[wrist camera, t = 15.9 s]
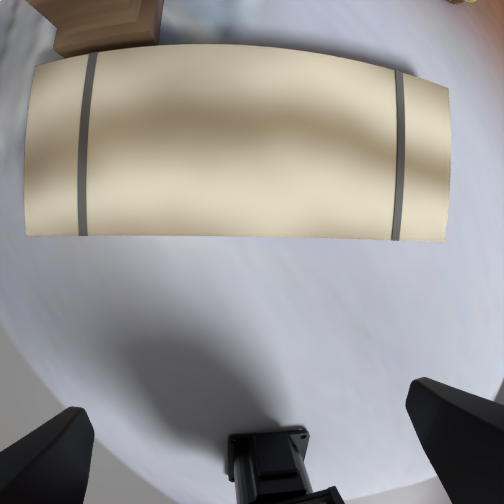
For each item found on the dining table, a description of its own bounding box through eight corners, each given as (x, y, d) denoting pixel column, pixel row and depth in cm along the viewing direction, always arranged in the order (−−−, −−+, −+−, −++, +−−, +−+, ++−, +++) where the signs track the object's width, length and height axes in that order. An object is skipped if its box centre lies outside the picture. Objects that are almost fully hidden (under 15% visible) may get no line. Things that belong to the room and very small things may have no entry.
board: (422, 234, 20) (445, 242, 17) (46, 228, 17) (25, 236, 14) (426, 94, 17) (449, 87, 15) (53, 76, 15) (34, 65, 12)
